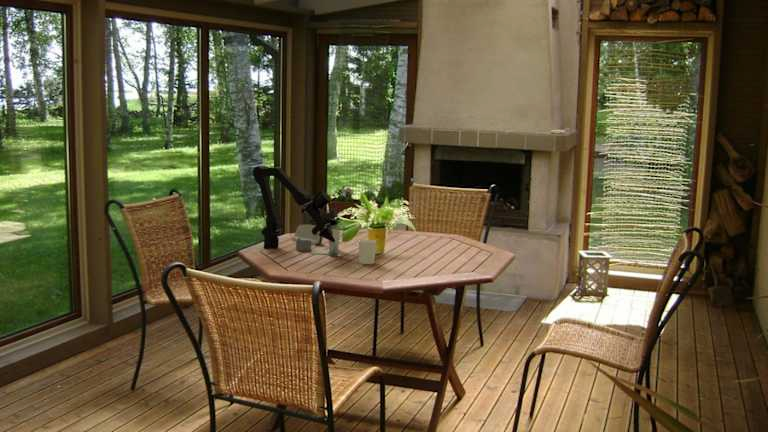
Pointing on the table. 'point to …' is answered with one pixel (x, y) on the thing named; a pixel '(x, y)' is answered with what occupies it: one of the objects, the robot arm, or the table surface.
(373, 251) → the white cup
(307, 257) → the table surface
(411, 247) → the table surface
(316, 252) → the pad
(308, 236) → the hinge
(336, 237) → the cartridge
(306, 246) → the unit
